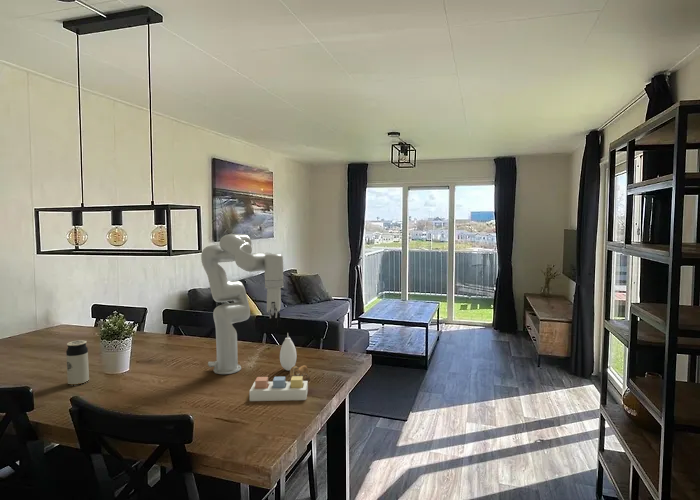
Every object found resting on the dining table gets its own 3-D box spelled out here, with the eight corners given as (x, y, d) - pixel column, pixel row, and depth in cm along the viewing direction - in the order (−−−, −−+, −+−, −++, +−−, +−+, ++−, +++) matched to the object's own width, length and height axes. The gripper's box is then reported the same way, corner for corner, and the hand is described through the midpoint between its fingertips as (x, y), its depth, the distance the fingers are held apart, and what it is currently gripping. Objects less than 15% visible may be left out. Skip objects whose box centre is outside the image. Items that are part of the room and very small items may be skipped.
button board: (249, 401, 169) (249, 391, 169) (254, 391, 179) (254, 381, 179) (306, 399, 170) (305, 390, 169) (307, 390, 180) (307, 380, 179)
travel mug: (86, 378, 196) (84, 339, 195) (91, 382, 191) (89, 342, 190) (65, 382, 191) (64, 342, 190) (70, 387, 185) (68, 346, 184)
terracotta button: (255, 390, 172) (255, 380, 171) (257, 386, 176) (257, 377, 176) (266, 390, 172) (266, 380, 172) (268, 386, 176) (268, 376, 176)
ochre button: (290, 390, 172) (290, 380, 172) (291, 385, 176) (291, 376, 176) (301, 389, 172) (301, 380, 172) (302, 385, 177) (302, 376, 176)
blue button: (273, 390, 172) (272, 380, 172) (274, 386, 176) (274, 376, 176) (284, 390, 172) (284, 380, 172) (285, 386, 176) (285, 376, 176)
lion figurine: (298, 389, 181) (298, 368, 180) (287, 388, 182) (286, 367, 182) (312, 377, 195) (311, 357, 194) (301, 376, 196) (301, 357, 196)
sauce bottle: (293, 373, 201) (292, 334, 200) (277, 372, 202) (276, 334, 201) (298, 367, 208) (298, 330, 207) (283, 366, 210) (282, 330, 209)
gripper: (267, 281, 186) (268, 320, 187) (262, 287, 169) (263, 330, 170) (285, 281, 187) (285, 320, 188) (281, 286, 170) (282, 329, 171)
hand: (275, 325), depth 179 cm, fingers open, 9 cm apart
